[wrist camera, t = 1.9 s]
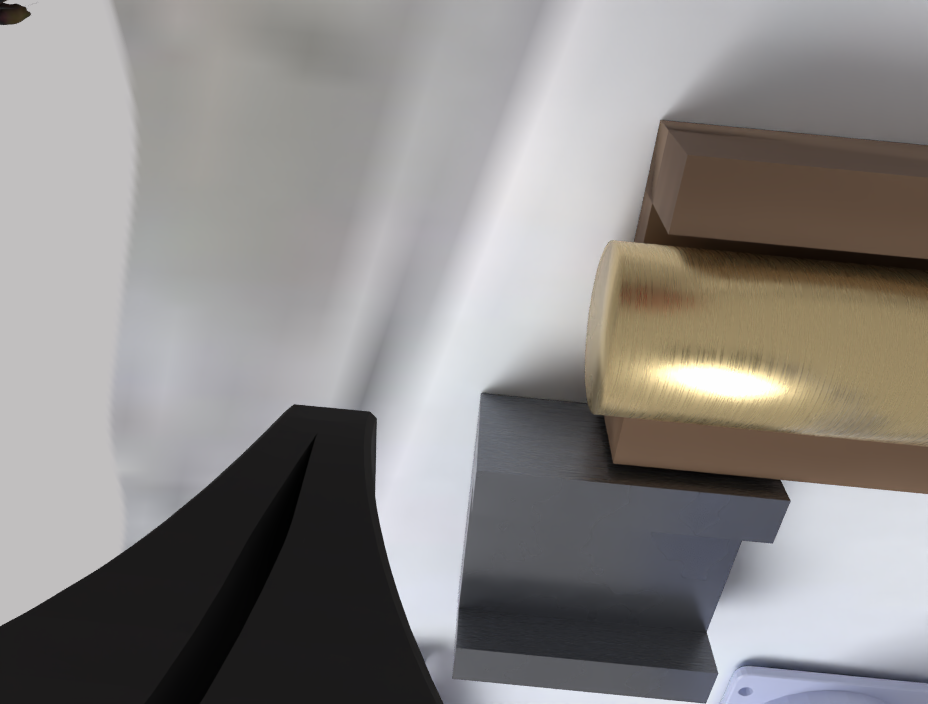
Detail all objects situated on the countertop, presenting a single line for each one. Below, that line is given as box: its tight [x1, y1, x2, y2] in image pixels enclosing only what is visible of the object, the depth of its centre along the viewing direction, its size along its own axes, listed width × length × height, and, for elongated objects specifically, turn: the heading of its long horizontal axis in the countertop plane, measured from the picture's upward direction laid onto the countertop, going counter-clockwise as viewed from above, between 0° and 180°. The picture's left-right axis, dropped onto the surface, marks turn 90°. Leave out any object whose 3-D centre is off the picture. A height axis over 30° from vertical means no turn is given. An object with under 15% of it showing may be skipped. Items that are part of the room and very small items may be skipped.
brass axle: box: [585, 240, 928, 447], centre depth 17 cm, size 12×4×4 cm, turn 85°
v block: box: [452, 393, 790, 703], centre depth 22 cm, size 8×8×4 cm
